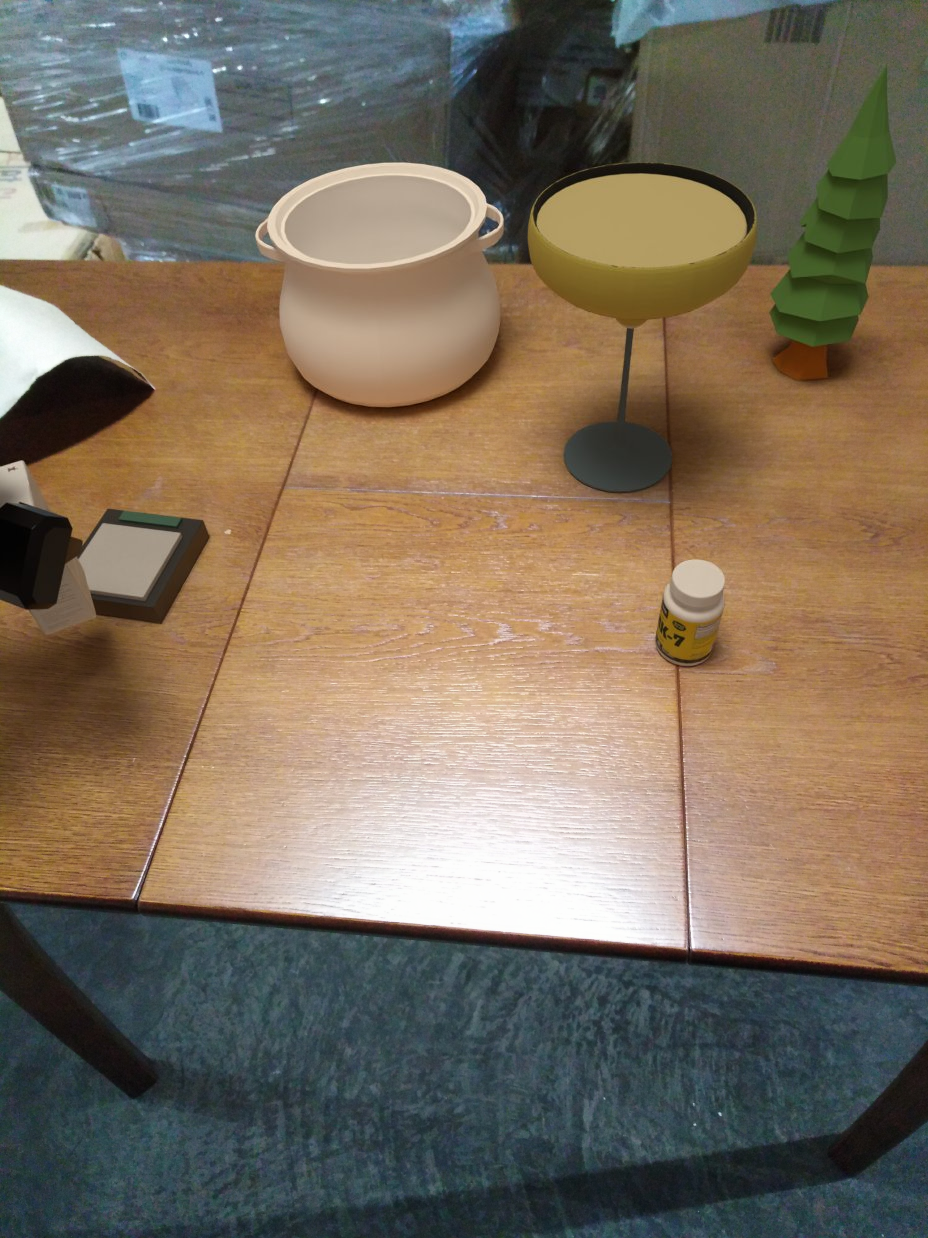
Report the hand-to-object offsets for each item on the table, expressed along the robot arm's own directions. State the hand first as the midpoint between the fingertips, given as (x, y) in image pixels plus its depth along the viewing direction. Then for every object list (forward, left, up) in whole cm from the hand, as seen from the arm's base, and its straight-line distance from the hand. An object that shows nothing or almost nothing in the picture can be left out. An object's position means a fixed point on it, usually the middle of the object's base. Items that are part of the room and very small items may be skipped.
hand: (43, 533), depth 68 cm
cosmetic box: (0, -1, -7) cm, 7 cm away
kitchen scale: (-1, +8, -13) cm, 16 cm away
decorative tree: (+59, +50, -14) cm, 79 cm away
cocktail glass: (+41, +31, -14) cm, 53 cm away
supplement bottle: (+49, +8, -14) cm, 51 cm away
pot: (+14, +45, -14) cm, 49 cm away
